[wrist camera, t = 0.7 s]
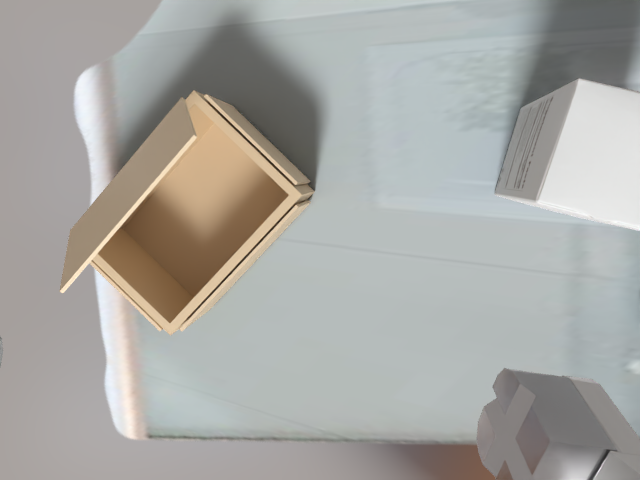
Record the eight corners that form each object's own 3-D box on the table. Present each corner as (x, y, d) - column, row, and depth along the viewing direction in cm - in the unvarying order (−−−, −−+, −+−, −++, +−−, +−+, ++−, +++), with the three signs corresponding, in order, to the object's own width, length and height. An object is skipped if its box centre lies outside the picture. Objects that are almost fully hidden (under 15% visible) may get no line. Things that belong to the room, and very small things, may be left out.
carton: (226, 98, 52) (197, 85, 44) (321, 191, 52) (310, 194, 44) (112, 231, 55) (66, 241, 47) (201, 318, 55) (171, 342, 47)
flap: (181, 96, 43) (193, 134, 36) (184, 99, 44) (197, 137, 36) (70, 230, 46) (59, 291, 39) (73, 232, 47) (63, 293, 39)
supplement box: (616, 127, 47) (720, 107, 33) (584, 220, 49) (669, 240, 34) (520, 103, 48) (579, 73, 34) (490, 195, 50) (535, 204, 35)
